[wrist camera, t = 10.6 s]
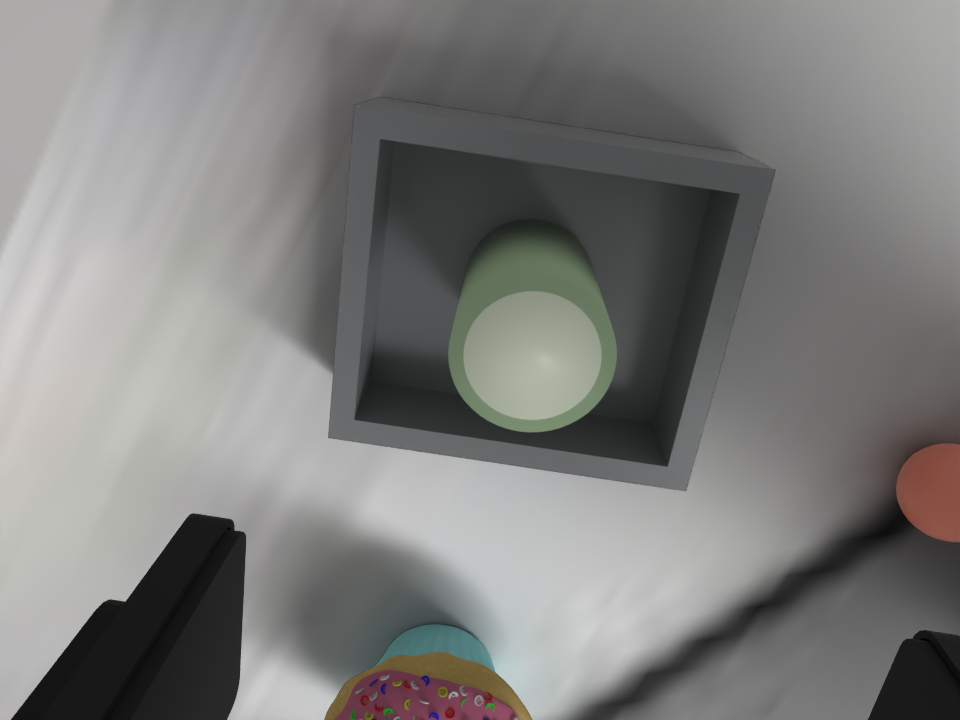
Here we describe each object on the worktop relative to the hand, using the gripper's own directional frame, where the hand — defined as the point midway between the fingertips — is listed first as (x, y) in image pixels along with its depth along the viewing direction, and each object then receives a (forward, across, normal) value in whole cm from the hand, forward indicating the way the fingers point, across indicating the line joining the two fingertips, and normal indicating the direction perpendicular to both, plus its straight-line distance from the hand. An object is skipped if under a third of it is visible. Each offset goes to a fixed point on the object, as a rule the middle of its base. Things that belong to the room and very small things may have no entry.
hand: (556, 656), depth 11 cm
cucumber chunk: (+17, 0, 0) cm, 17 cm away
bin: (+18, 0, 0) cm, 18 cm away
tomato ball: (+18, -16, +4) cm, 25 cm away
